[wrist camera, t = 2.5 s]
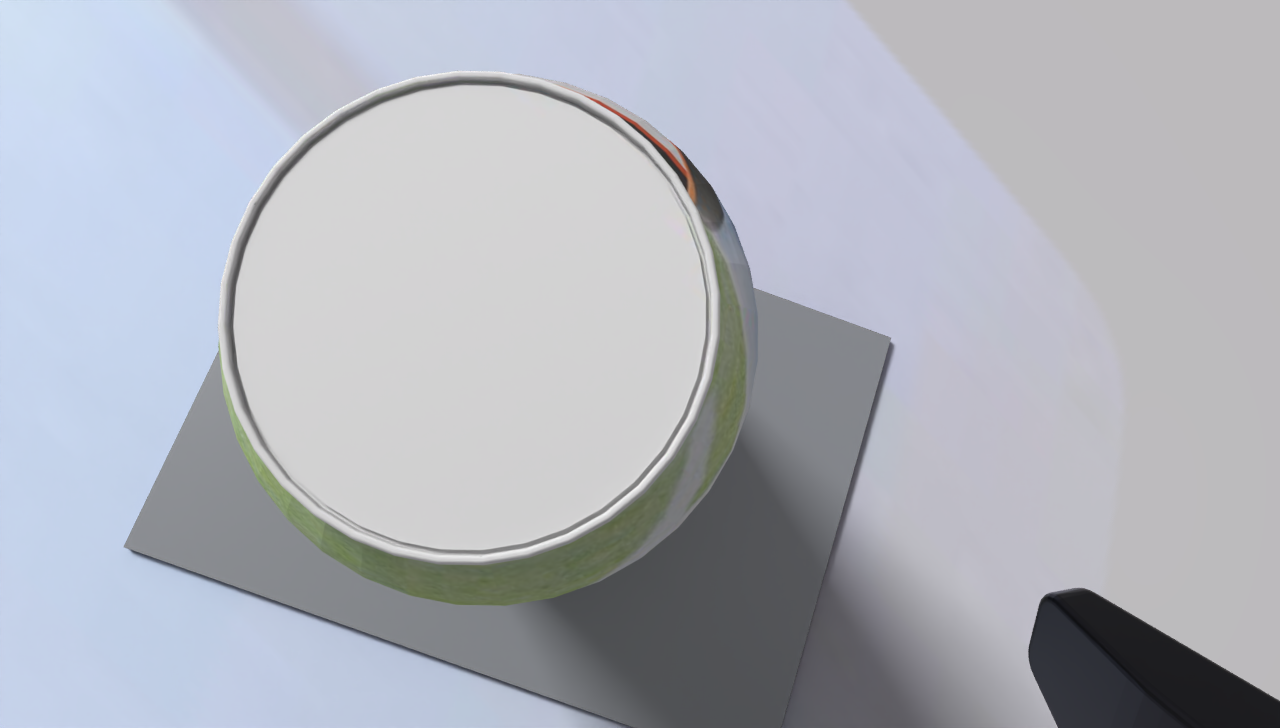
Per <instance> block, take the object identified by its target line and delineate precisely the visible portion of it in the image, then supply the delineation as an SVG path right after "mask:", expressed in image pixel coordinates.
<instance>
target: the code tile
mask: <svg viewBox="0 0 1280 728" xmlns="http://www.w3.org/2000/svg"><path fill="white" fill-rule="evenodd" d="M753 289H754V295H755V300H756V306H757V312H758V362H757V367H756V373H755V378H754V384H753V389H752V395H751V401H750V406H749V409H748V411H747V414H746V417H745V420H744V422H743V425H742V428H741V430H740V433H739V436H738V438H737V441H736V444H735V447H734V449H733V451H732V453H731V455H730V457H729V458H728V460H727V462H726V463H725V465H724V467H723V468H722V470H721V472H720V474H719V475H718V477H717V479H716V480H715V482H714V484H713V486H712V487H711V489H710V491H709V492H708V493H707V494H706V496H705V497H704V498H703V499H702V500H701V501H700V503H699V504H698V505H697V506H696V507H695V508H694V510H693V511H692V512H691V513H690V514H689V516H688V517H687V518H686V519H685V520H684V521H683V523H682V524H681V525H680V526H679V527H678V528H677V529H676V530H675V531H673V532H672V533H671V534H670V535H669V536H667V537H666V538H665V539H664V540H663V541H661V542H660V543H659V544H658V545H656V546H655V547H654V548H653V549H652V550H650V551H649V552H648V553H647V554H646V555H644V556H643V557H642V558H640V559H639V560H637V561H635V562H633V563H632V564H630V565H628V566H626V567H624V568H623V569H621V570H619V571H617V572H616V573H614V574H612V575H610V576H609V577H607V578H605V579H603V580H601V581H600V582H597V583H594V584H591V585H588V586H586V587H583V588H580V589H577V590H574V591H571V592H569V593H566V594H563V595H560V596H557V597H554V598H550V599H543V600H537V601H531V602H525V603H519V604H513V605H507V606H493V605H455V604H450V603H445V602H440V601H435V600H430V599H425V598H419V597H414V596H409V595H407V594H404V593H402V592H399V591H397V590H394V589H392V588H389V587H387V586H384V585H382V584H379V583H376V582H374V581H371V580H369V579H366V578H364V577H362V576H361V575H359V574H357V573H356V572H354V571H353V570H351V569H349V568H348V567H346V566H344V565H343V564H341V563H340V562H338V561H336V560H335V559H333V558H332V557H330V556H328V555H327V554H325V553H324V552H322V551H321V550H320V549H319V548H318V547H317V546H316V545H315V544H313V543H312V542H311V541H310V540H309V539H308V538H307V537H306V536H305V535H304V534H302V533H301V532H300V531H299V530H298V529H297V528H296V527H295V526H294V525H293V524H292V523H290V522H289V521H288V520H287V518H286V517H285V516H284V515H283V513H282V512H281V511H280V509H279V508H278V507H277V505H276V504H275V503H274V501H273V500H272V499H271V497H270V496H269V495H268V493H267V492H266V491H265V490H264V488H263V487H262V486H261V484H260V483H259V482H258V480H257V478H256V476H255V474H254V472H253V470H252V468H251V466H250V464H249V462H248V460H247V458H246V456H245V454H244V452H243V450H242V448H241V446H240V444H239V442H238V440H237V438H236V434H235V431H234V428H233V424H232V421H231V418H230V414H229V411H228V407H227V404H226V401H225V397H224V393H223V384H222V374H221V365H220V356H219V351H218V353H217V355H216V357H215V359H214V361H213V363H212V366H211V368H210V370H209V372H208V374H207V376H206V378H205V380H204V382H203V384H202V386H201V388H200V390H199V392H198V394H197V396H196V398H195V401H194V403H193V405H192V407H191V409H190V411H189V413H188V415H187V417H186V419H185V421H184V423H183V425H182V427H181V429H180V431H179V433H178V436H177V438H176V440H175V442H174V444H173V446H172V448H171V450H170V452H169V454H168V456H167V458H166V460H165V462H164V464H163V466H162V469H161V471H160V473H159V475H158V477H157V479H156V481H155V483H154V485H153V487H152V489H151V491H150V493H149V495H148V497H147V499H146V501H145V504H144V506H143V508H142V510H141V512H140V514H139V516H138V518H137V520H136V522H135V524H134V526H133V528H132V530H131V532H130V534H129V537H128V539H127V541H126V543H125V545H124V547H125V548H128V549H131V550H133V551H136V552H139V553H142V554H145V555H148V556H150V557H153V558H156V559H159V560H162V561H165V562H167V563H170V564H173V565H176V566H179V567H181V568H184V569H187V570H190V571H193V572H196V573H198V574H201V575H204V576H207V577H210V578H213V579H215V580H218V581H221V582H224V583H227V584H230V585H232V586H235V587H238V588H241V589H244V590H247V591H249V592H252V593H255V594H258V595H261V596H263V597H266V598H269V599H272V600H275V601H278V602H280V603H283V604H286V605H289V606H292V607H295V608H297V609H300V610H303V611H306V612H309V613H312V614H314V615H317V616H320V617H323V618H326V619H328V620H331V621H334V622H337V623H340V624H343V625H345V626H348V627H351V628H354V629H357V630H360V631H362V632H365V633H368V634H371V635H374V636H377V637H379V638H382V639H385V640H388V641H391V642H393V643H396V644H399V645H402V646H405V647H408V648H410V649H413V650H416V651H419V652H422V653H425V654H427V655H430V656H433V657H436V658H439V659H442V660H444V661H447V662H450V663H453V664H456V665H459V666H461V667H464V668H467V669H470V670H473V671H475V672H478V673H481V674H484V675H487V676H490V677H492V678H495V679H498V680H501V681H504V682H507V683H509V684H512V685H515V686H518V687H521V688H524V689H526V690H529V691H532V692H535V693H538V694H540V695H543V696H546V697H549V698H552V699H555V700H557V701H560V702H563V703H566V704H569V705H572V706H574V707H577V708H580V709H583V710H586V711H589V712H591V713H594V714H597V715H600V716H603V717H605V718H608V719H611V720H614V721H617V722H620V723H622V724H625V725H628V726H631V727H634V728H781V727H782V723H783V720H784V716H785V713H786V709H787V706H788V702H789V699H790V695H791V691H792V688H793V684H794V681H795V677H796V674H797V670H798V667H799V663H800V660H801V656H802V652H803V649H804V645H805V642H806V638H807V635H808V631H809V628H810V624H811V620H812V617H813V613H814V610H815V606H816V603H817V599H818V596H819V592H820V589H821V585H822V581H823V578H824V574H825V571H826V567H827V564H828V560H829V557H830V553H831V550H832V546H833V542H834V539H835V535H836V532H837V528H838V525H839V521H840V518H841V514H842V510H843V507H844V503H845V500H846V496H847V493H848V489H849V486H850V482H851V479H852V475H853V471H854V468H855V464H856V461H857V457H858V454H859V450H860V447H861V443H862V439H863V436H864V432H865V429H866V425H867V422H868V418H869V415H870V411H871V408H872V404H873V400H874V397H875V393H876V390H877V386H878V383H879V379H880V376H881V372H882V369H883V365H884V361H885V358H886V354H887V351H888V347H889V344H890V340H891V338H890V337H888V336H885V335H882V334H879V333H877V332H874V331H871V330H868V329H866V328H863V327H860V326H857V325H855V324H852V323H849V322H846V321H844V320H841V319H838V318H835V317H833V316H830V315H827V314H824V313H822V312H819V311H816V310H813V309H811V308H808V307H805V306H802V305H800V304H797V303H794V302H791V301H789V300H786V299H783V298H780V297H778V296H775V295H772V294H769V293H767V292H764V291H761V290H758V289H756V288H753Z"/></svg>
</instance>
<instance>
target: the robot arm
mask: <svg viewBox="0 0 1280 728" xmlns="http://www.w3.org/2000/svg"><path fill="white" fill-rule="evenodd" d="M1028 652H1029V662H1030V666H1031V670H1032V672H1033V675H1034V677H1035V679H1036V681H1037V684H1038V686H1039V688H1040V690H1041V692H1042V694H1043V696H1044V699H1045V701H1046V703H1047V705H1048V707H1049V709H1050V711H1051V714H1052V716H1053V718H1054V720H1055V722H1056V724H1057V726H1058V728H1280V701H1279V700H1277V699H1275V698H1274V697H1272V696H1270V695H1269V694H1267V693H1265V692H1263V691H1262V690H1260V689H1258V688H1257V687H1255V686H1253V685H1252V684H1250V683H1248V682H1247V681H1245V680H1243V679H1241V678H1240V677H1238V676H1236V675H1234V674H1233V673H1231V672H1229V671H1228V670H1226V669H1224V668H1222V667H1221V666H1219V665H1217V664H1216V663H1214V662H1212V661H1211V660H1209V659H1207V658H1205V657H1204V656H1202V655H1200V654H1199V653H1197V652H1195V651H1193V650H1191V649H1190V648H1188V647H1187V646H1185V645H1183V644H1181V643H1179V642H1178V641H1176V640H1175V639H1173V638H1171V637H1170V636H1168V635H1166V634H1164V633H1163V632H1161V631H1159V630H1158V629H1156V628H1154V627H1152V626H1151V625H1149V624H1147V623H1146V622H1144V621H1142V620H1141V619H1139V618H1137V617H1135V616H1134V615H1132V614H1130V613H1129V612H1127V611H1125V610H1123V609H1122V608H1120V607H1118V606H1117V605H1115V604H1113V603H1111V602H1110V601H1108V600H1106V599H1105V598H1103V597H1101V596H1099V595H1098V594H1096V593H1094V592H1092V591H1090V590H1087V589H1085V588H1073V589H1068V590H1062V591H1057V592H1052V593H1049V594H1046V595H1045V596H1044V597H1043V598H1042V599H1041V601H1040V604H1039V608H1038V612H1037V616H1036V620H1035V624H1034V628H1033V632H1032V636H1031V640H1030V644H1029V651H1028Z"/></svg>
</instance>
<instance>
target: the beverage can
mask: <svg viewBox="0 0 1280 728" xmlns="http://www.w3.org/2000/svg"><path fill="white" fill-rule="evenodd" d="M218 332H219V346H218V347H219V356H220V365H221V374H222V384H223V393H224V397H225V401H226V404H227V407H228V411H229V414H230V418H231V421H232V424H233V428H234V431H235V434H236V438H237V440H238V442H239V444H240V446H241V448H242V450H243V452H244V454H245V456H246V458H247V460H248V462H249V464H250V466H251V468H252V470H253V472H254V474H255V476H256V478H257V480H258V482H259V483H260V484H261V486H262V487H263V488H264V490H265V491H266V492H267V493H268V495H269V496H270V497H271V499H272V500H273V501H274V503H275V504H276V505H277V507H278V508H279V509H280V511H281V512H282V513H283V515H284V516H285V517H286V518H287V520H288V521H289V522H290V523H292V524H293V525H294V526H295V527H296V528H297V529H298V530H299V531H300V532H301V533H302V534H304V535H305V536H306V537H307V538H308V539H309V540H310V541H311V542H312V543H313V544H315V545H316V546H317V547H318V548H319V549H320V550H321V551H322V552H324V553H325V554H327V555H328V556H330V557H332V558H333V559H335V560H336V561H338V562H340V563H341V564H343V565H344V566H346V567H348V568H349V569H351V570H353V571H354V572H356V573H357V574H359V575H361V576H362V577H364V578H366V579H369V580H371V581H374V582H376V583H379V584H382V585H384V586H387V587H389V588H392V589H394V590H397V591H399V592H402V593H404V594H407V595H409V596H414V597H419V598H425V599H430V600H435V601H440V602H445V603H450V604H455V605H493V606H507V605H513V604H519V603H525V602H531V601H537V600H543V599H550V598H554V597H557V596H560V595H563V594H566V593H569V592H571V591H574V590H577V589H580V588H583V587H586V586H588V585H591V584H594V583H597V582H600V581H601V580H603V579H605V578H607V577H609V576H610V575H612V574H614V573H616V572H617V571H619V570H621V569H623V568H624V567H626V566H628V565H630V564H632V563H633V562H635V561H637V560H639V559H640V558H642V557H643V556H644V555H646V554H647V553H648V552H649V551H650V550H652V549H653V548H654V547H655V546H656V545H658V544H659V543H660V542H661V541H663V540H664V539H665V538H666V537H667V536H669V535H670V534H671V533H672V532H673V531H675V530H676V529H677V528H678V527H679V526H680V525H681V524H682V523H683V521H684V520H685V519H686V518H687V517H688V516H689V514H690V513H691V512H692V511H693V510H694V508H695V507H696V506H697V505H698V504H699V503H700V501H701V500H702V499H703V498H704V497H705V496H706V494H707V493H708V492H709V491H710V489H711V487H712V486H713V484H714V482H715V480H716V479H717V477H718V475H719V474H720V472H721V470H722V468H723V467H724V465H725V463H726V462H727V460H728V458H729V457H730V455H731V453H732V451H733V449H734V447H735V444H736V441H737V438H738V436H739V433H740V430H741V428H742V425H743V422H744V420H745V417H746V414H747V411H748V409H749V406H750V401H751V395H752V389H753V384H754V378H755V373H756V367H757V362H758V312H757V306H756V300H755V295H754V289H753V283H752V278H751V272H750V268H749V265H748V262H747V259H746V257H745V254H744V251H743V248H742V246H741V243H740V240H739V237H738V235H737V232H736V229H735V226H734V224H733V223H732V221H731V219H730V217H729V216H728V214H727V212H726V210H725V209H724V207H723V205H722V204H721V202H720V200H719V198H718V197H717V195H716V193H715V191H714V190H713V188H712V186H711V185H710V184H709V183H708V181H707V180H706V179H705V178H704V177H703V175H702V174H701V173H700V172H699V171H698V169H697V168H696V167H695V166H694V165H693V163H692V162H691V161H690V160H689V159H688V158H687V156H686V155H685V154H684V153H683V152H682V151H681V150H680V149H679V148H678V147H677V146H675V145H674V144H673V143H672V142H671V141H669V140H668V139H667V138H666V137H665V136H664V135H662V134H661V133H660V132H659V131H658V130H656V129H655V128H654V127H653V126H652V125H650V124H649V123H648V122H647V121H645V120H644V119H642V118H640V117H638V116H637V115H635V114H633V113H632V112H630V111H628V110H626V109H625V108H623V107H621V106H620V105H618V104H616V103H614V102H613V101H611V100H609V99H607V98H605V97H602V96H599V95H597V94H594V93H591V92H589V91H586V90H583V89H581V88H578V87H575V86H573V85H570V84H567V83H564V82H559V81H553V80H548V79H543V78H538V77H533V76H527V75H522V74H510V73H505V72H489V71H454V72H447V73H440V74H433V75H426V76H419V77H414V78H411V79H408V80H405V81H402V82H399V83H396V84H393V85H390V86H386V87H383V88H380V89H377V90H375V91H373V92H371V93H369V94H367V95H365V96H363V97H361V98H359V99H357V100H355V101H353V102H351V103H349V104H347V105H345V106H343V107H342V108H340V109H338V110H336V111H335V112H334V113H332V114H331V115H330V116H328V117H327V118H326V119H324V120H323V121H322V122H320V123H319V124H318V125H316V126H315V127H314V128H312V129H311V130H309V131H308V132H307V133H305V134H304V135H303V136H302V137H301V138H300V139H299V140H298V141H297V142H296V143H295V144H294V145H293V146H292V147H291V148H290V150H289V151H288V152H287V153H286V154H285V155H284V156H283V157H282V158H281V159H280V160H279V161H278V162H277V163H276V164H275V165H274V166H273V168H272V169H271V171H270V172H269V174H268V175H267V177H266V178H265V180H264V181H263V183H262V184H261V186H260V187H259V189H258V190H257V191H256V193H255V194H254V196H253V197H252V199H251V200H250V202H249V204H248V206H247V208H246V211H245V213H244V215H243V217H242V220H241V222H240V224H239V226H238V229H237V231H236V233H235V235H234V237H233V240H232V242H231V246H230V250H229V254H228V258H227V262H226V266H225V270H224V274H223V278H222V282H221V291H220V305H219V319H218Z"/></svg>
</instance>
